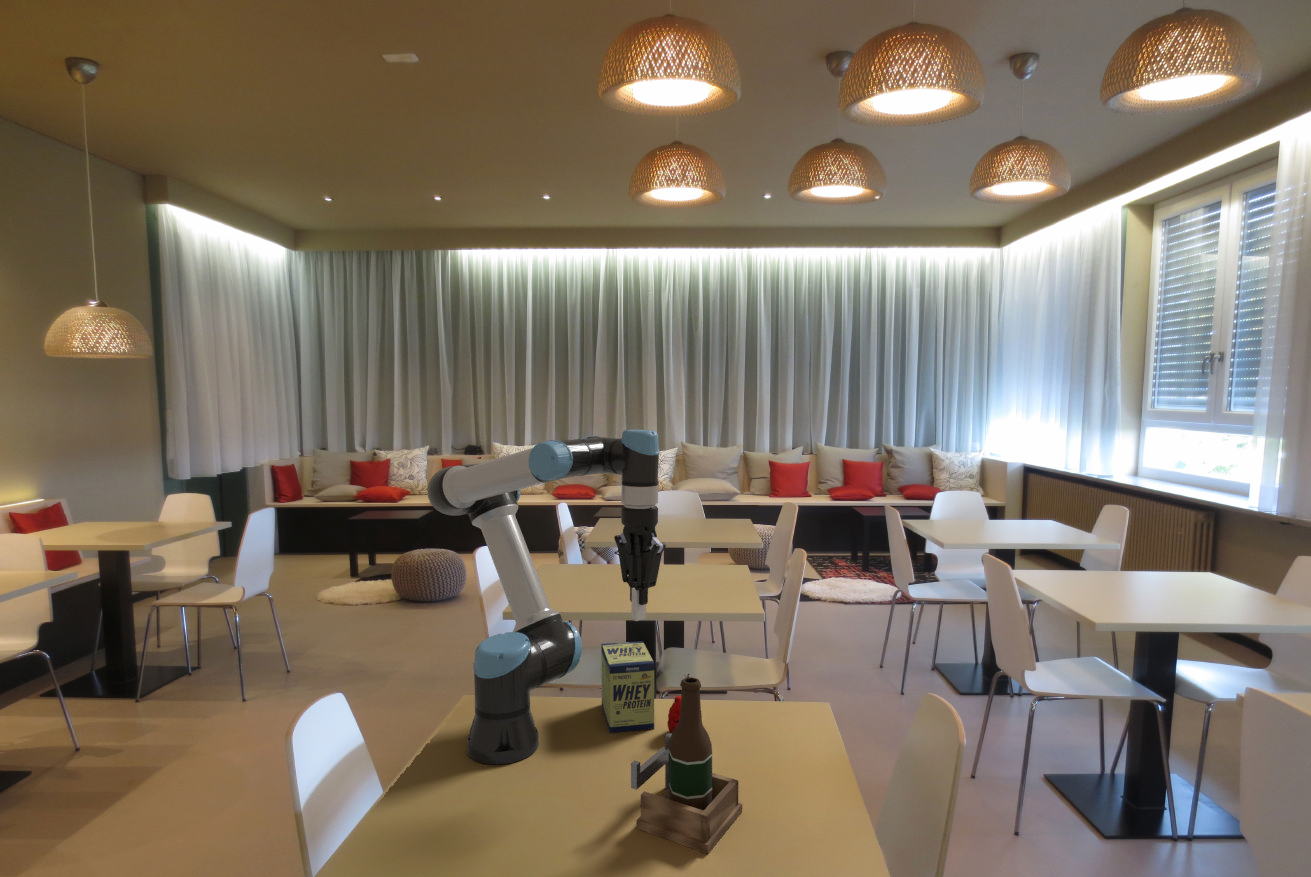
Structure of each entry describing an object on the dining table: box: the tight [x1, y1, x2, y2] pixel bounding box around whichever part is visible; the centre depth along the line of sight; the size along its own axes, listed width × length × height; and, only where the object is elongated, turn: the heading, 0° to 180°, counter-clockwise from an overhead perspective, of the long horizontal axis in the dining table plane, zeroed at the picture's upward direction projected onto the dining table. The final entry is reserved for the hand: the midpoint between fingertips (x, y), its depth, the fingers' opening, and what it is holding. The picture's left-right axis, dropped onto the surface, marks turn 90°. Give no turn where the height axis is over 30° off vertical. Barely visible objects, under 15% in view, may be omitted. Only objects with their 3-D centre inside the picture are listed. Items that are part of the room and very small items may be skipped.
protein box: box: [600, 640, 655, 734], centre depth 169 cm, size 10×16×16 cm
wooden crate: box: [635, 732, 743, 855], centre depth 129 cm, size 16×15×10 cm
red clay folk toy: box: [667, 673, 703, 734], centre depth 160 cm, size 8×7×15 cm
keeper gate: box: [630, 746, 669, 791], centre depth 131 cm, size 12×1×4 cm, turn 150°
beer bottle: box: [669, 676, 713, 811], centre depth 127 cm, size 8×8×24 cm
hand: (638, 618), depth 148 cm, fingers closed
